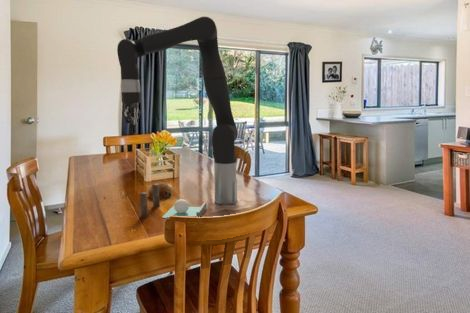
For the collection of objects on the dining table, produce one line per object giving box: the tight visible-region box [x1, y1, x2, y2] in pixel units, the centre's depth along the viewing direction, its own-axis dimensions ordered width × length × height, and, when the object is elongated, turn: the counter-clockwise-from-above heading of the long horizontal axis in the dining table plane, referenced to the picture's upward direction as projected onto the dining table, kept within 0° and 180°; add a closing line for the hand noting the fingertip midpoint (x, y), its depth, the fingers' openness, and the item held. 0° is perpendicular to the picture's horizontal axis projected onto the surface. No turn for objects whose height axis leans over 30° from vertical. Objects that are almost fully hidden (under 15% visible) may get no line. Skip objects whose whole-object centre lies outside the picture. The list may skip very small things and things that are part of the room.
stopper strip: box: [196, 202, 207, 217], centre depth 136 cm, size 1×12×2 cm, turn 172°
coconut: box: [148, 181, 173, 200], centre depth 159 cm, size 10×10×8 cm
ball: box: [173, 198, 190, 214], centre depth 136 cm, size 6×6×6 cm
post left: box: [139, 191, 149, 219], centre depth 132 cm, size 3×3×9 cm
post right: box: [151, 183, 161, 208], centre depth 144 cm, size 3×3×9 cm
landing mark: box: [161, 205, 208, 219], centre depth 137 cm, size 14×14×1 cm
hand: (133, 133), depth 147 cm, fingers closed
